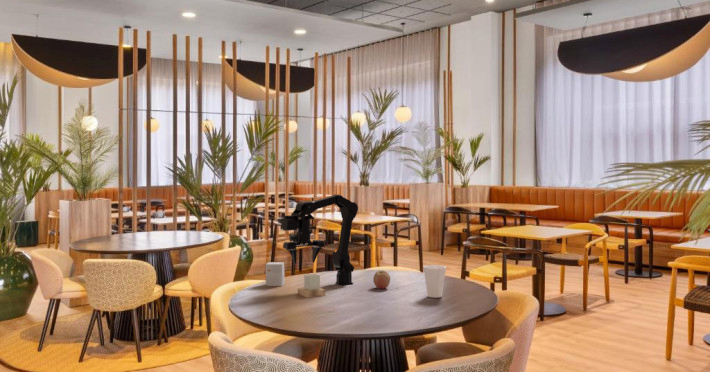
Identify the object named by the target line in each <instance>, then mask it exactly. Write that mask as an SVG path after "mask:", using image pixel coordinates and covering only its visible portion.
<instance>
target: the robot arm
mask: <svg viewBox="0 0 710 372" xmlns="http://www.w3.org/2000/svg"><path fill="white" fill-rule="evenodd" d="M332 205H336V206H337V207H338V208H340V216H341V219H342V220H341V221H342V222H341V228H340V234H339V239H338V240H339V241H338V246H337V249H336V251H333V252H332V258H331V261H332V262H331V263H332V266H334V269H335V270H336V272H337V273H336V274H335V275H336V281H335V284H338V285H340V286H344V285H345V286H346V285H347V286H348V285H353V284H354V282H352V281H353V280H352V279H353V278H352V277H353V275H352V274H353V273H352V272H354V271H355V266H354V265H353V264H352V263H351V261H350V253H349V245H350V240H351V232H352V227H353V221H354V220H355V218H356V216H357V215H358V211H359V205H358V204H357V203H356V202H355V201H351V200H349V199H347V198H345V197H344V196H342V194H336V193H335V194H332V195H330V196H327V197H322V198H319V199H315V200H311V201H310V200H308V201H307V200H306V201H298V202H297V203H296V205H295V208H294V210H293V211H292V213H291V215H286V214H285V215H283V218H282V220H281V223H280V224H281V225H280V226H281V229H282V231H286V232H288V231H296V230H297V231H296V235H295V234H294V233H290V234H289V235H288V239H289V241H285V242H283V243H282V248H283V249H285V251H288V253H290V256H291V259H292V262H293V264H294V265H297V248H299V247H300V248H302V247H303V248H304V247H311V250H312V253H311V254H312V256H311V262H312V263H313V264H314V263H315V262H316V259H317V257H318V255H319V253H320V251H321V250H322V249H323V248H325V247H326V244H325V241H324V240H322V239H312V240H311V235H312V231H311V220H315V219H316V218H315V217H314V216H313V215H312V214H313V213H314V212H316V211H317V210H319V209H323V208H326V207H329V206H332Z"/></svg>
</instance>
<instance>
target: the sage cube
mask: <svg viewBox="0 0 710 372" xmlns="http://www.w3.org/2000/svg"><path fill="white" fill-rule="evenodd" d="M303 276H304V277H303V278H304V287H303V288H305V289H307V290H317V289H320V288H321V277H320V276H321V275H319V274H317V273H311V274H310V273H309V274H304V275H303Z"/></svg>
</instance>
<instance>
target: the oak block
mask: <svg viewBox="0 0 710 372" xmlns="http://www.w3.org/2000/svg"><path fill="white" fill-rule="evenodd" d="M297 295H300V296H302V297H303V298H307V299H308V298H314V297H323V296H326V289H324V288H321V287H320V289H317V290H307V289H305V288H304V287H298V288H297Z"/></svg>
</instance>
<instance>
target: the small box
mask: <svg viewBox="0 0 710 372" xmlns="http://www.w3.org/2000/svg"><path fill="white" fill-rule="evenodd" d="M284 285H285V262H283V261H282V262H280V261H277V262H276V261H275V262H274V261H272V262H271V261H269V262H266V264H265V286H266V287H283V286H284Z"/></svg>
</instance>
